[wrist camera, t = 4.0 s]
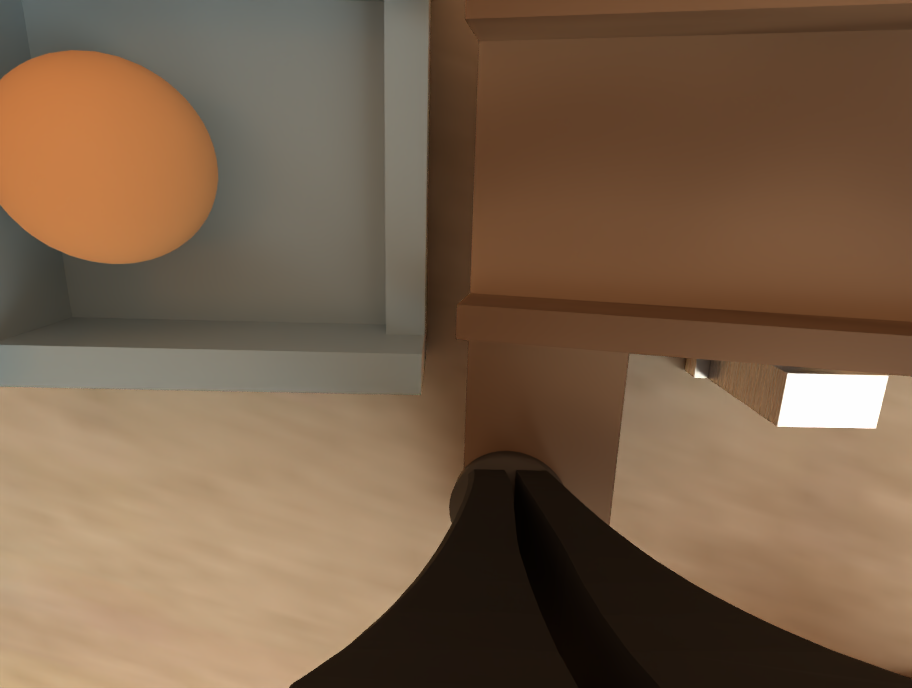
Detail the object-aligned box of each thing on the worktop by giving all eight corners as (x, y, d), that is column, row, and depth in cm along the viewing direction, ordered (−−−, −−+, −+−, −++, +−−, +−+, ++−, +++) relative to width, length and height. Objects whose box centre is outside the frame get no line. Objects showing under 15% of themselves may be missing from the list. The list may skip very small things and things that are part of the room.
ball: (261, 258, 11) (128, 282, 8) (117, 250, 12) (-58, 269, 9) (249, 74, 10) (94, 15, 7) (95, 77, 11) (-111, 25, 8)
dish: (425, 357, 13) (418, 415, 9) (47, 348, 12) (-101, 406, 9) (431, -40, 11) (424, -151, 7) (-23, -58, 10) (-252, -182, 7)
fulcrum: (785, 373, 13) (892, 428, 10) (684, 371, 13) (760, 426, 10) (864, -34, 11) (1035, -128, 8) (744, -39, 11) (866, -136, 8)
